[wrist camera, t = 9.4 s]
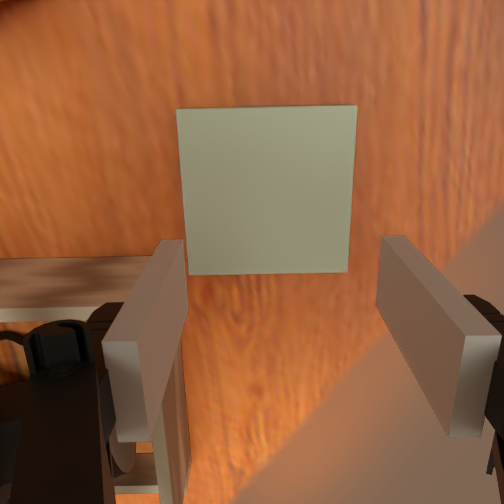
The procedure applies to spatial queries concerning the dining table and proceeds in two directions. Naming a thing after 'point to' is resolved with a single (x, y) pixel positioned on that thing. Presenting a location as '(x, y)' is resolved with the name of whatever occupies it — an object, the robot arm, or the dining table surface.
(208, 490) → the dining table surface
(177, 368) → the crate
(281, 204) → the sage board
